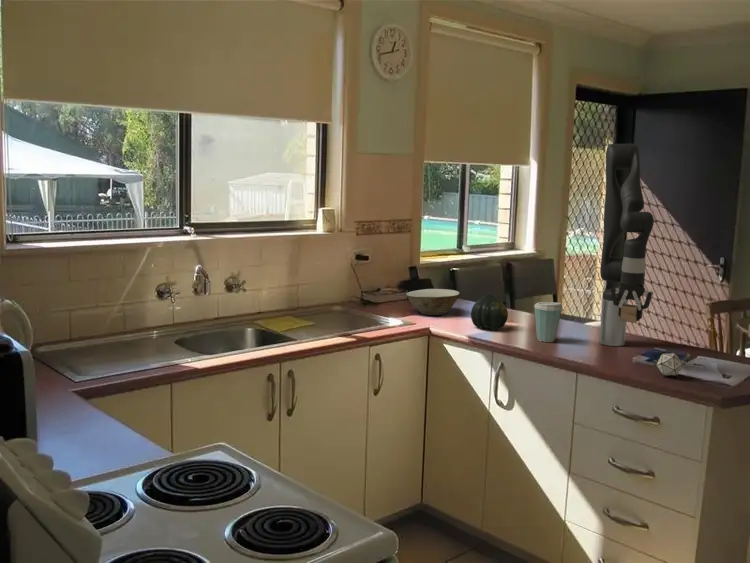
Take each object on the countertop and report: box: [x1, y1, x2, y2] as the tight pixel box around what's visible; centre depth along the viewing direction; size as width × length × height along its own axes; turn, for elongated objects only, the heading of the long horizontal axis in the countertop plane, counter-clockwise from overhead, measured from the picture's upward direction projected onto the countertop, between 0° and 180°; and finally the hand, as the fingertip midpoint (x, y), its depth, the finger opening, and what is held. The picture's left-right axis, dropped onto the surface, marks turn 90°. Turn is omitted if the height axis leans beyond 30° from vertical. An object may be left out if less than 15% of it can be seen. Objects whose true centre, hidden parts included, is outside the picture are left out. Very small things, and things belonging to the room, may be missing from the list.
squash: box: [470, 292, 509, 331], centre depth 304 cm, size 14×15×15 cm
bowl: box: [405, 288, 460, 316], centre depth 331 cm, size 24×24×10 cm
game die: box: [653, 351, 686, 378], centre depth 241 cm, size 9×8×10 cm
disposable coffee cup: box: [533, 301, 564, 343], centre depth 285 cm, size 11×11×15 cm
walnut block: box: [620, 303, 638, 324], centre depth 254 cm, size 5×5×5 cm
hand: (629, 318), depth 254 cm, fingers closed on walnut block, 5 cm apart
